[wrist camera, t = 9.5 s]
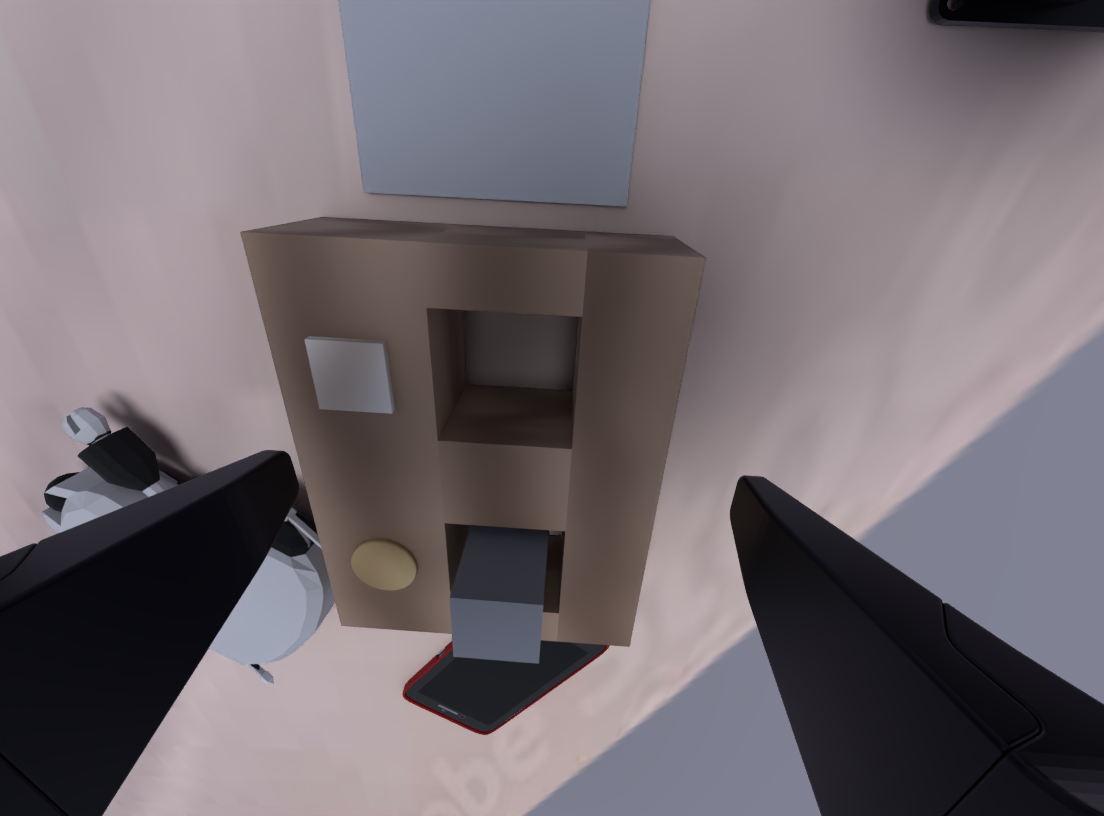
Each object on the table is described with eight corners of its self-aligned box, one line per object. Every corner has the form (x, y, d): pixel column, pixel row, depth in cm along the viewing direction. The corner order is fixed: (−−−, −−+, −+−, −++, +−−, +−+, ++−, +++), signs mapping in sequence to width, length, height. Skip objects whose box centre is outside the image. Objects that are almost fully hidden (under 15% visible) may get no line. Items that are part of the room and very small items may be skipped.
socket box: (673, 236, 18) (708, 259, 13) (620, 566, 26) (630, 652, 22) (322, 217, 18) (233, 233, 13) (380, 549, 26) (338, 631, 22)
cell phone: (615, 631, 29) (616, 645, 29) (487, 724, 35) (485, 738, 34) (519, 575, 28) (517, 588, 27) (401, 683, 33) (396, 697, 32)
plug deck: (668, -182, 13) (671, -192, 12) (625, 205, 17) (626, 206, 17) (318, -195, 13) (311, -205, 13) (368, 192, 18) (363, 192, 17)
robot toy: (95, 522, 28) (316, 633, 30) (8, 578, 24) (271, 701, 26) (125, 369, 23) (389, 516, 25) (21, 407, 19) (347, 578, 21)
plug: (552, 473, 23) (543, 605, 16) (549, 524, 25) (538, 663, 18) (487, 468, 23) (449, 597, 16) (487, 519, 25) (453, 656, 18)
